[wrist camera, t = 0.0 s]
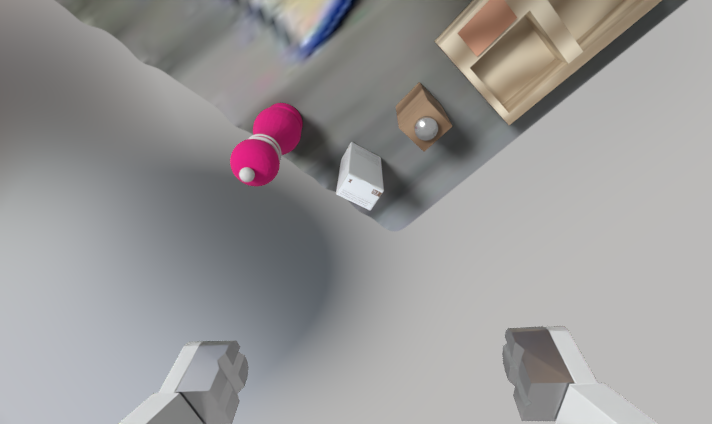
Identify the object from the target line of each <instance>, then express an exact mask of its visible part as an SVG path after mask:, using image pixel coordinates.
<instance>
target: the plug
mask: <svg viewBox="0 0 712 424" xmlns="http://www.w3.org/2000/svg"><path fill="white" fill-rule="evenodd" d="M396 111H397V118H398V125H399V128H400V129H401V130H402V131H403V132H404V133H405V134H406V135H407V136H408V137H409V138H410V139H411V140H412V141H413V142H414V143H415V144H416V145H418V146H419V147H420V148H421V149H422V150H423V151H425V150H427V149H428V148H429V147H430V146H431V145H432V144H433V143H434V142H436V141H437V140H438V139H439V138H440V137H441V136H442V135H443V134H444V133H446V132H447V131H448V130H449V129H450V128H451V127H452V124H451V122H450V121H449V119H448V117H447V115H446V113H445V111H444V109H443V108H442V106H441V104H440V103H439V102H438V101H437V100H436V99H435V98H434V97H433V96H432V95H431V94H430V93H429V92H428V91H427V90H426V88H425V87H424V86H423V85H422V84H421V83H420V82H419V83H418V84H417V85H416V86H415V87H414V88H413V89H412V90H411V91H410V92H409V93H408V94H407V95H406V96H405V97H404V98H403V99H402V100H401V101H400V102H399V103H398V104H397V105H396Z"/></svg>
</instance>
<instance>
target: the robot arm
mask: <svg viewBox="0 0 712 424" xmlns="http://www.w3.org/2000/svg"><path fill="white" fill-rule="evenodd" d="M505 338H506V341H507V344H505V345H504V346H503V364H504V368H505V372H506V375H507V378H508V380H509V381H510V382H511V383H512V384H513V385H514V386H515V390H514V395H513V396H514V399H515V402H516V405H517V408H518V411H519V414H520V417H521V420H522V421H556V422H555V423H556V424H658V423H657V422H655V421H654V420H653V419H651V418H650V417H649V416H647V415H646V414H645V413H643V412H642V411H641V410H639V409H638V408H637V407H636V406H634V405H633V404H631V403H630V402H629V401H628V400H626V399H625V398H624V397H622V396H621V395H620V394H618V393H617V392H616V391H614V390H613V389H612V388H611V387H609V386H608V385H607V384H605V383H598V382H597V380H596V378H595V376H594V374H593V372H592V371H591V369H590V367H589V365H588V364H587V362H586V360H585V359H584V357H583V355H582V353H581V351H580V350H579V348H578V346H577V344H576V343H575V341H574V339H573V337H572V335H571V334H570V332H569V330H568V329H567V328H566V327H565V326H554V327H526V328H508V329H507V330H506V333H505ZM239 349H240V346H239V344H238V343H237V341H197V342H188V343H187V344H186V345H185V346H184V347H183V349H182V350H181V352H180V354H179V356H178V358H177V360H176V361H175V363H174V365H173V367H172V369H171V371H170V372H169V374H168V376H167V378H166V380H165V381H164V383H163V385H162V387H161V389H160V391H159V392H158V393H153V394H152V395H151V396H150V397H149V398H148V399H146V400H145V401H144V402H143V403H142V404H141V405H139V406H138V407H137V408H136V409H135V410H134V411H132V412H131V413H130V414H129V415H128V416H127V417H126V418H124V419H123V420H122V421H121V422H120V423H118V424H232V422H233V419H234V416H235V413H236V410H237V407H238V404H239V398H238V395H237V394H238V393H239V392H240V390H241V389H242V388H243V387H244V386H245V383H246V380H247V376H248V363H247V359H246V357H245V355H243V354H241V353H240V352H238V351H239Z"/></svg>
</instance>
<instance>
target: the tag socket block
mask: <svg viewBox="0 0 712 424" xmlns="http://www.w3.org/2000/svg"><path fill="white" fill-rule="evenodd" d="M661 1H662V0H473V1H472V2H471V3H470V4H469V5H468V6H467V7H466V8H465V9H464V10H463V11H462V12H461V13H460V14H459V15H458V16H457V18H456V19H455V20H454V21H453V22H452V23H451V24H450V25H449V26H448V27H447V28H446V29H445V30H444V31H443V32H442V34H441V35H440V36H439V37H438V38H437V39H436V40H435V41H434V42H435V43H436V44H437V45H438V46H439V47H440V48H441V49H442V51H443V52H444V53H445V54H446V55H447V56H448V57H449V59H450V60H451V61H452V62H453V63H454V64H455V65H456V66H457V68H458V69H459V70H460V71H461V72H462V73H463V74H464V76H465V77H466V78H467V79H468V80H469V81H470V82H471V83H472V85H473V86H474V87H475V88H476V89H477V90H478V91H479V93H480V94H481V95H482V96H483V97H484V98H485V99H486V100H487V102H488V103H489V104H490V105H491V106H492V107H493V108H494V110H495V111H496V112H497V113H498V114H499V115H500V116H501V117H502V118H503V119H504V120H505V121H506V123H507V124H508V125H510V124H512V123H513V122H514V121H515V120H517V119H518V118H519V117H520V116H521V115H523V114H524V113H525V112H526V111H528V110H529V109H530V108H531V107H532V106H534V105H535V104H536V103H537V102H539V101H540V100H541V99H542V98H543V97H545V96H546V95H547V94H548V93H550V92H551V91H552V90H553V89H554V88H556V87H557V86H558V85H559V84H561V83H562V82H563V81H564V80H565V79H567V78H568V77H569V76H570V75H572V74H573V73H574V72H575V71H576V70H578V69H579V68H580V67H581V66H583V65H584V64H585V63H586V62H587V61H589V60H590V59H591V58H592V57H594V56H595V55H596V54H597V53H598V52H600V51H601V50H602V49H603V48H605V47H606V46H607V45H608V44H609V43H611V42H612V41H613V40H614V39H616V38H617V37H618V36H619V35H620V34H622V33H623V32H624V31H625V30H627V29H628V28H629V27H630V26H631V25H633V24H634V23H635V22H636V21H638V20H639V19H640V18H641V17H642V16H644V15H645V14H646V13H647V12H649V11H650V10H651V9H652V8H653V7H655V6H656V5H657V4H658V3H660V2H661Z"/></svg>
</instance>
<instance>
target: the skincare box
mask: <svg viewBox="0 0 712 424" xmlns="http://www.w3.org/2000/svg"><path fill="white" fill-rule="evenodd" d="M383 192H384V187H383V176H382V165H381V157H379V156H377V155H375V154H373V153H372V152H370V151H368V150H366V149H364V148H362V147H360V146H358V145H357V144H355V143H353V142H351V143H350V145H349V147H348V149H347V150H346V152H345V154H344V156H343V157H342V159H341V164H340V171H339V177H338V184H337V190H336V195H338V196H340V197H343V198H345V199H347V200H349V201H351V202H353V203H355V204H358V205H360V206H362V207H364V208H366V209H368V210H371V209H372V208H373V206H374V205H375V203H376V202H377V200H378V199H379V197H380V196H381V195H382V193H383Z"/></svg>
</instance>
